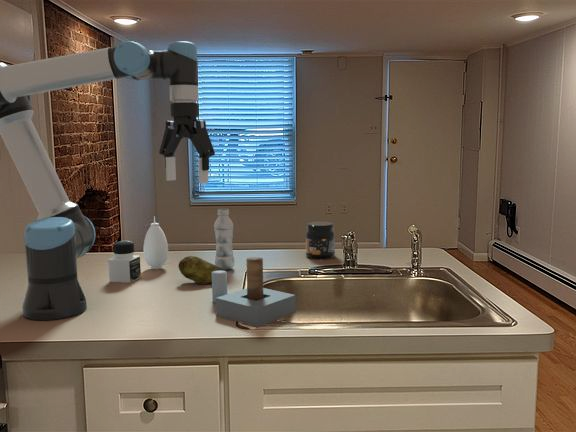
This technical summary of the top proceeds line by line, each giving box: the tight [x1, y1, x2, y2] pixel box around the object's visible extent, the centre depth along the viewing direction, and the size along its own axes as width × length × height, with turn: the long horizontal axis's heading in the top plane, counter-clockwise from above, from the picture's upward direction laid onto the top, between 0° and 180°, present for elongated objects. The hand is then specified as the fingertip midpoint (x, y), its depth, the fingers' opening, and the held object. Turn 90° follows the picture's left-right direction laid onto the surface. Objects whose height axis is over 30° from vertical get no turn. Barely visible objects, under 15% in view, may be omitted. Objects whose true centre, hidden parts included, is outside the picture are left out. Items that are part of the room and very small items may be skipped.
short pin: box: [211, 270, 228, 304], centre depth 156 cm, size 4×4×8 cm
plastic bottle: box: [213, 208, 235, 271], centre depth 190 cm, size 6×7×20 cm
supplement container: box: [305, 221, 336, 260], centre depth 209 cm, size 10×10×12 cm
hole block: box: [215, 287, 297, 328], centre depth 145 cm, size 14×14×4 cm
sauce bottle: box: [142, 215, 169, 271], centre depth 193 cm, size 8×8×18 cm
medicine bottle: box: [107, 240, 142, 284], centre depth 179 cm, size 7×7×12 cm
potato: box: [177, 255, 224, 285], centre depth 175 cm, size 8×13×8 cm, turn 73°
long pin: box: [245, 256, 264, 301], centre depth 144 cm, size 4×4×14 cm
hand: (187, 181), depth 159 cm, fingers open, 13 cm apart
